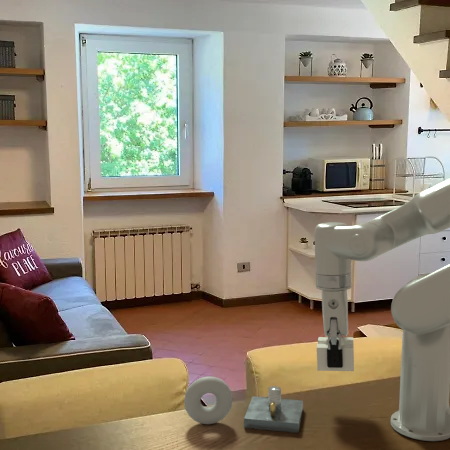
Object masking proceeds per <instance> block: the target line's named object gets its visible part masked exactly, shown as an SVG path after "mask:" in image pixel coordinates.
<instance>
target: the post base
mask: <svg viewBox="0 0 450 450" xmlns="http://www.w3.org/2000/svg"><path fill="white" fill-rule="evenodd" d="M267 389H268V391H267V392H268V394H267V395H268V397H264V396H263V397H262V396H251V399H250V402H249V404H248V407H247V410H246V413H245V415H244V417H243V427H244V429H252V428H254V430H264V431H265V430H266V431H274V432H275V431H276V432H283V433H284V432H285V433H297V434H299V431H300V428H301V421H302V416H303V409H304V400H303V399H302V400H300V399H299V400H298V399H290V398H289V399H288V398H282V388H281V387H279V386H275V385H274V386H273V385H272V386H269V387H268V388H267Z"/></svg>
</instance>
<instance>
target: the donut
mask: <svg viewBox="0 0 450 450" xmlns="http://www.w3.org/2000/svg"><path fill="white" fill-rule="evenodd" d="M184 393H185V394H184V400H183V404H184V408H185V409H184V410H185V411H186V413H187V415H188V417H190V418H191V419H192V420H193V421H195V422H197V423H199V424H201V425H203V424H204V425H211V424H212V425H213V424H217V423H218V422H220V421H222V420H224V419H225V417H226V416H227V415H228V414H229V412H230V411H231V409H232V406H233V399H234V398H233V395H232V394H233V393H232V390H231V388H230V387H229V385H228V384H227V383H226V382H225V381H224V380H223V379H221V378H218V377H216V376H204V377H200V378H198V379H196V380H194V381H192V382H191V384H190V385H189V386H188V387H187V389H186V391H185V392H184ZM208 394H212V395H214V396H215V398H216V399H215V400H216V401H215V402H214V404H213V405H212V406H207V407H206V406H204V405H203V404H202V402H201V399H202V398H203V397H204V395H208Z"/></svg>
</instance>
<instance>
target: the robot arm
mask: <svg viewBox="0 0 450 450" xmlns="http://www.w3.org/2000/svg"><path fill="white" fill-rule="evenodd" d="M449 228H450V177H449V178H447V179H446V180H443V181H441V182H439V183H437V184H434V185H432V186H431V187H429V188H426V189H424V190H422V191H420V192H418V193H417V194H415V195H414V196H413V197H412V199H410V200H409V201H408V202H405V203H404V204H403V205H401V206H399V207H397V208H394V209H393V210H391V211H390V210H389V212H386V213H384V214H382V215H380V216H378V217H376V218H373V219H371V220H367V221H365V222H362V223H358V224H356V225H355V224H354V225H348V224H347V223H345V222H335V221H334V222H333V221H332V222H331V221H329V222H322V223H318V224H317V225H316V226H315V228H314V237H313V238H314V265H315V271H314V272H315V288H316V289H317V290H319V291H321V307H322V308H321V310H322V322H323V324H322V325H323V330H324V332H323V333H324V336H325V337H328V348H327V366H328V367H329V368H342V367H343V352H342V349H341V337H343V336H344V337H348V336H349V310H348V309H349V303H348V300H349V299H348V290H350V289H352V286H353V285H352V261H356V262H369V261H371V260H373V259H375V258H377V257H379V256H381V255H384V254H386V253H388V252H390V251H392V250H394V249H396V248H398V247H400V246H403V245H405V244H407V243H409V242H411V241H414V240H416V239H419V238H422V237H424V236H426V235H435V234H438V233H441V232H443V231H445V230H448V229H449ZM390 312H391V316H392V318H393V322H394V323H395V324H396V326H398V327H399V328H400V329H402V339H401V340H402V341H401V358H400V359H401V361H400V379H399V381H400V382H399V399H398V400H399V402H398V403H399V404H398V405H399V406H398V410H397V411H395V412H393V413H392V415H391V417H390V425H391V427H392V429H393V430H395V431H396V432H397V433H399V434H401V435H402V436H405V437H407V438H411V439H414V440H418V441H426V442H439V441H445V440H448V439H450V263H449V264H446V265H445V266H443V267H440V268H439V269H437V270H435V271H433V272H427V273H422V274H420V275H418V276H415V277H414V278H412V279H411V280H410V281H408V282H407V283H406V284H405V285H403V286H402V287H400V288H399V290H397V292H396V293H395V294H394V296H393V298H392V302H391V305H390ZM330 338H331V339H330ZM337 338H338V339H337ZM338 345H339V346H338Z"/></svg>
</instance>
